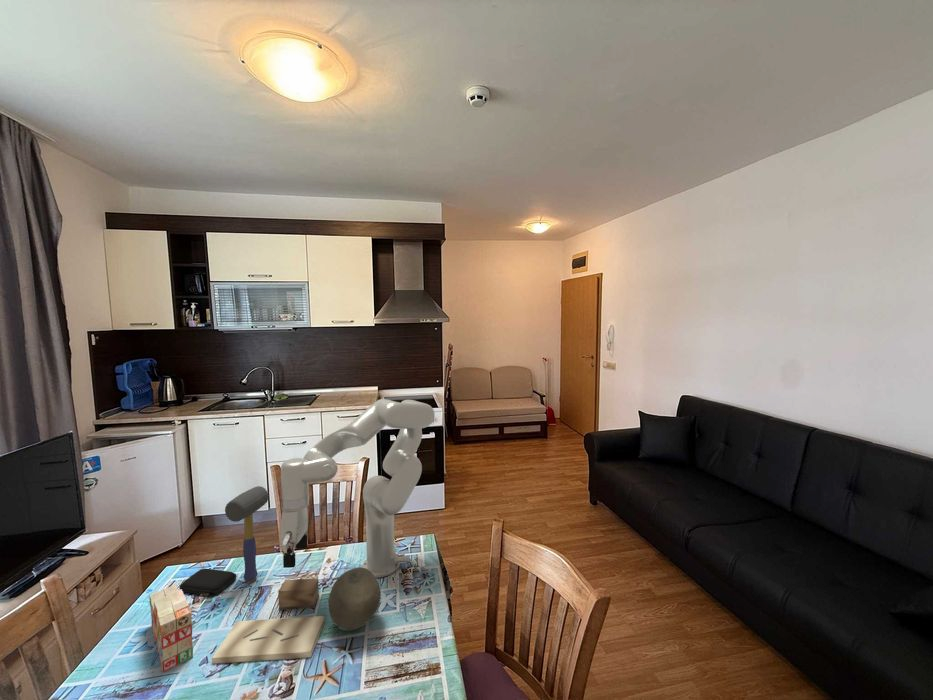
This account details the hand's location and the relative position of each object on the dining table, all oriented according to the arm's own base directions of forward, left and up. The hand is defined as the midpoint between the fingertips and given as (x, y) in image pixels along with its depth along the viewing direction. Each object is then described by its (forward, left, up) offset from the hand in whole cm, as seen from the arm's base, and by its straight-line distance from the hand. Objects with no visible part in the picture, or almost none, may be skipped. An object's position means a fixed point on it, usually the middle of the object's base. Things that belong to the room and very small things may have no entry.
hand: (295, 557), depth 115 cm
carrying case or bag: (+32, -11, -15) cm, 37 cm away
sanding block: (0, 0, -15) cm, 15 cm away
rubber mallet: (+20, -12, -15) cm, 27 cm away
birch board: (+2, +14, -15) cm, 20 cm away
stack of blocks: (+29, +11, -15) cm, 34 cm away
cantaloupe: (-19, +10, -15) cm, 26 cm away
